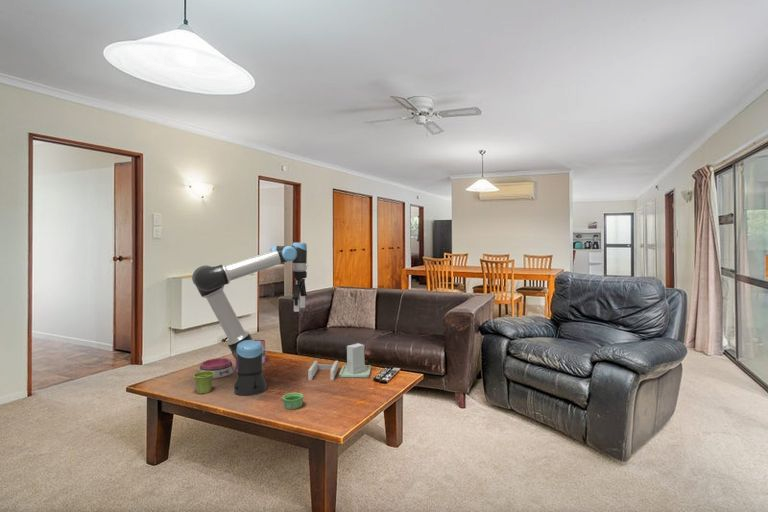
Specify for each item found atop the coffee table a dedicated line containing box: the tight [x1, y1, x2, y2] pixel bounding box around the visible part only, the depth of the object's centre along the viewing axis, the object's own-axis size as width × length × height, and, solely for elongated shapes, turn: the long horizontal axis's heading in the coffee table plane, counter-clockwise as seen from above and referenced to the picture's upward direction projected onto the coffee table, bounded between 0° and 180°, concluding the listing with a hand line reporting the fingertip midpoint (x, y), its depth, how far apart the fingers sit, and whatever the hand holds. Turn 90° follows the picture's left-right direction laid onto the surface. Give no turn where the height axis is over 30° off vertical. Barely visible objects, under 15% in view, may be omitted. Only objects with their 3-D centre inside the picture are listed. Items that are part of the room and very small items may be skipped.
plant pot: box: [192, 371, 214, 395], centre depth 204 cm, size 9×9×9 cm
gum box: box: [235, 339, 267, 374], centre depth 243 cm, size 24×8×14 cm, turn 172°
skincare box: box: [346, 342, 366, 374], centre depth 231 cm, size 8×6×15 cm
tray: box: [338, 364, 372, 379], centre depth 231 cm, size 18×16×2 cm
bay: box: [307, 360, 340, 381], centre depth 229 cm, size 20×13×5 cm
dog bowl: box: [198, 357, 235, 380], centre depth 232 cm, size 18×19×7 cm
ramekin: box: [282, 392, 304, 410], centre depth 185 cm, size 9×9×4 cm
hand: (299, 309), depth 230 cm, fingers open, 13 cm apart
